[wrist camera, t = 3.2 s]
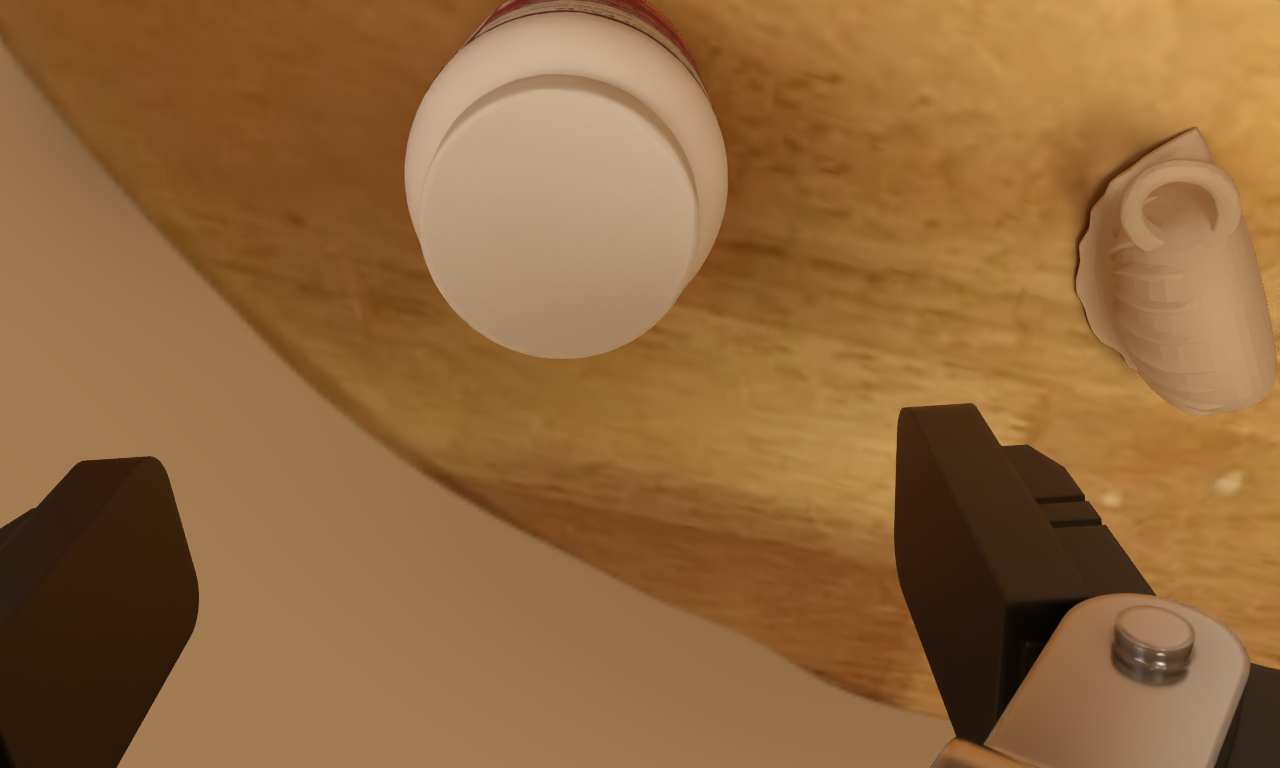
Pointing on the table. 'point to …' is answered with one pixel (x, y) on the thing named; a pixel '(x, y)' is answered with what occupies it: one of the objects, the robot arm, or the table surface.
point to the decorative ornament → (1179, 281)
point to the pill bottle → (566, 175)
